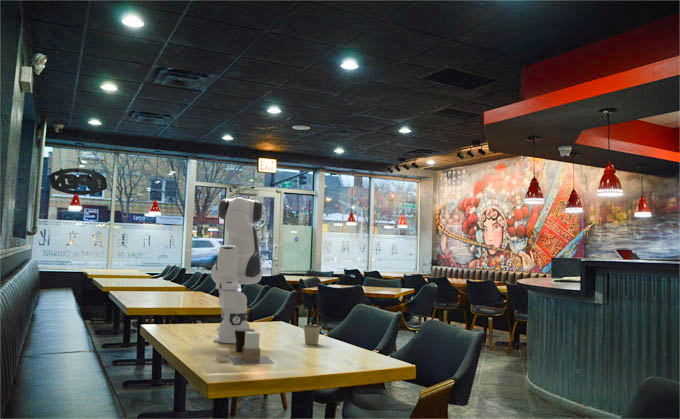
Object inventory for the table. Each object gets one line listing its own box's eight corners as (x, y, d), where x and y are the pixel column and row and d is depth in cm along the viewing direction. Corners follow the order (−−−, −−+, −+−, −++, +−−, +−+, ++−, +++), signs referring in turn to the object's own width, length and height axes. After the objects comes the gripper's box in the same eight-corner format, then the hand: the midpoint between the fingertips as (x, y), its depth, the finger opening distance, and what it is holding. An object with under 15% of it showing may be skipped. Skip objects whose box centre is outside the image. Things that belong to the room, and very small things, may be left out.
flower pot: (320, 345, 257) (321, 327, 258) (301, 345, 257) (302, 327, 258) (321, 342, 267) (322, 325, 267) (302, 341, 267) (303, 324, 267)
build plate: (228, 358, 218) (228, 356, 218) (266, 357, 223) (266, 355, 223) (233, 366, 203) (233, 364, 203) (274, 365, 208) (274, 363, 208)
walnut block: (242, 358, 215) (243, 346, 215) (256, 358, 217) (257, 346, 217) (244, 361, 209) (245, 349, 210) (259, 361, 211) (260, 348, 212)
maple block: (216, 361, 213) (217, 348, 213) (227, 360, 214) (228, 348, 215) (217, 363, 209) (218, 350, 209) (229, 363, 210) (229, 350, 210)
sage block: (244, 346, 215) (245, 331, 216) (256, 346, 217) (257, 331, 217) (246, 348, 211) (247, 333, 211) (258, 348, 212) (259, 333, 213)
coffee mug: (249, 355, 227) (250, 331, 228) (230, 353, 228) (231, 330, 229) (258, 350, 238) (259, 328, 239) (240, 349, 240) (242, 327, 241)
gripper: (216, 283, 223) (214, 316, 221) (222, 285, 204) (220, 322, 202) (231, 283, 225) (229, 316, 223) (238, 286, 206) (236, 321, 204)
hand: (225, 319), depth 213 cm, fingers open, 8 cm apart
